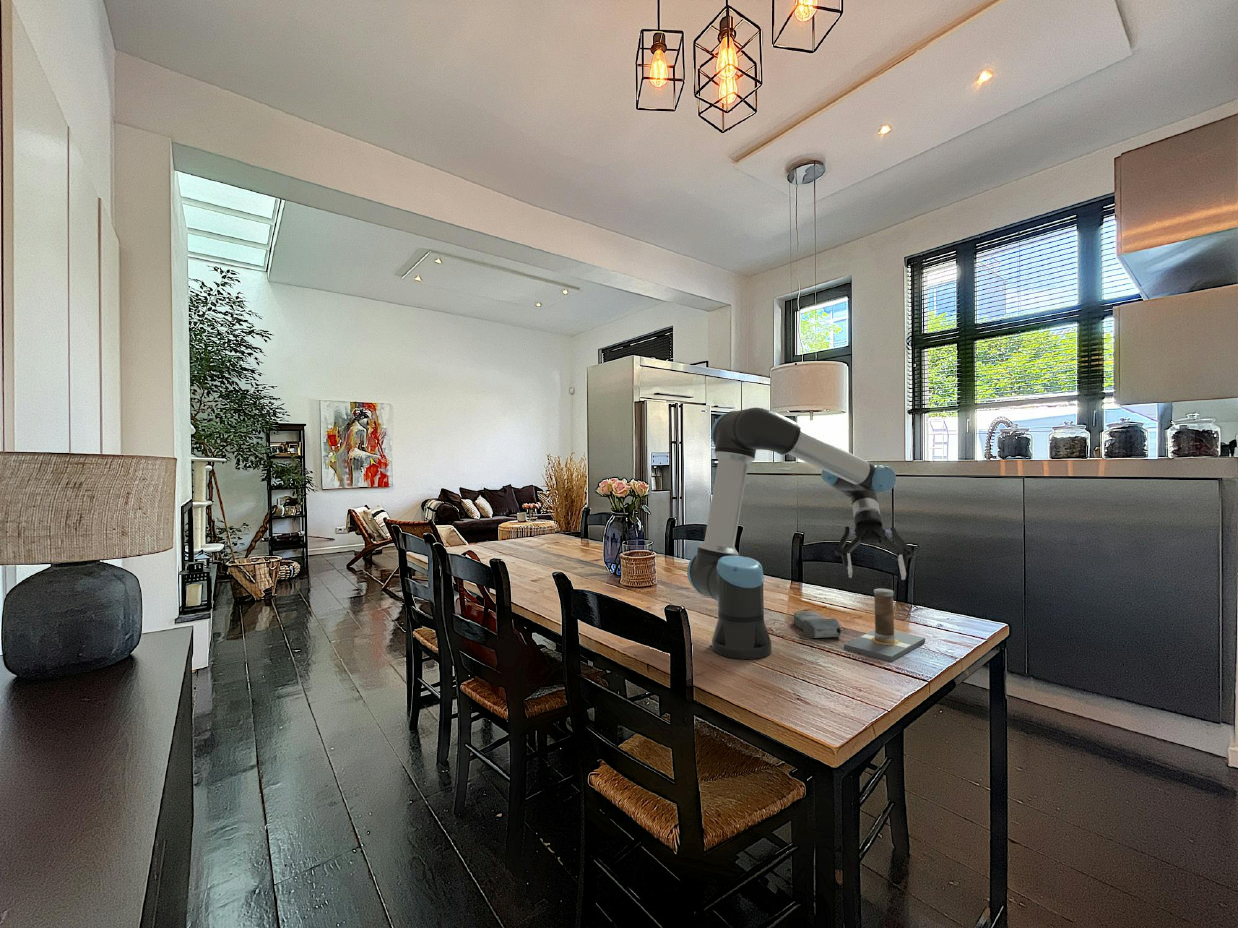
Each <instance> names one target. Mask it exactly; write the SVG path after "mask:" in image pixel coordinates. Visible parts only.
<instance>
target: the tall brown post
mask: <svg viewBox="0 0 1238 928" xmlns="http://www.w3.org/2000/svg"><path fill="white" fill-rule="evenodd" d="M894 596H895V595H894V590H892V589H888V588H875V589H873V597H874V599H873V600H874V630H875V632H874V633H875V640H876V641H877V642H881V643H894V642H895V633H894V631H895V623H894V622H895V618H894V617H895V616H894V615H895V614H894V612H895V611H894Z"/></svg>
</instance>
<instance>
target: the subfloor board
mask: <svg viewBox="0 0 1238 928" xmlns="http://www.w3.org/2000/svg"><path fill="white" fill-rule="evenodd" d="M874 632H875V629H873V630H872V631H870V632H868V633H865V634H863V635H861V636H859V637H856V638H854V639H852V640H850V641H848V642H846V643H843V650H847V651H851V652H854V653H857V654H862V655H865V656H868V657H869V656H870V657H874V658H877V659H881V660H885V661H888V662H893V661H895V660H896V659H898V658H901V657H902V656H905V655H906V654H908V653H909V652H912V651H913V650H915V649H916V648H919V645H920V646H922V645H924V644H925V643H926V638H925V637H923V636H917V635H913V634H908V633H903V632H900V631H896V630H894V633H895V642H894V643H881V642H877V641H876V640H875V633H874ZM924 642H925V643H924ZM923 643H924V644H923ZM921 644H922V645H921Z"/></svg>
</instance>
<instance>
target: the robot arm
mask: <svg viewBox="0 0 1238 928" xmlns="http://www.w3.org/2000/svg"><path fill="white" fill-rule="evenodd" d="M710 435H711V441H712V442H713V445H714V447H715V448H714V456H715V457H716V458H717V465H716V472H715V477H714V478H715V479H714V484H713V490H712V496H711V501H710V507H709V513H708V519H707V525H706V531H705V535H704V536H705V537H704V540H703V542H702V543H699V545H698V546H697V550H696V551H697V552H696V554H695V555H694V556H693V557H691V559H690V560H689V562H688V565H687V568H686V569H687V571H686V574H687V580H688V582H689V584H690V585H691V587H692V588H693V589H695V591H697V592H698V593H699V594H701V595H702V596H705V597H709V598H710V599H713V600H715V601H717V611H718V613H717V614H718V617H717V621H716V625H715V628H714V632H713V634H712V638H711V643H712V644H711V649H712V650H713V652H714V653H716V654H718V655H719V656H722V655H723V657H727V658H731V659H737V660H738V659H739V660H754V659H755V660H756V659H762V658H766V657H767V656H769V655H771V653H772V651H773V650H772V648H773V647H772V646H773V645H772V639H771V637H770V634H769V631H768V628H767V626H766V623H765V614H764V613H765V612H764V611H765V610H764V609H765V605H764V603H765V602H764V597H765V596H764V581H765V580H764V579H765V577H764V571H763V566H762V564H761V563H760V561H758V560H756V559H754V558H751V557H749V556H742V555H739V552H738V551H737V549H736V546H735V545H736V539H737V533H738V526H739V521H740V515H741V510H742V509H741V508H742V504H743V496H744V491H745V485H746V481H747V479H746V478H747V474H748V468H749V465H750V464H751V463H753V462H754V461H755V459H756V453H757V451H758V450H759V451H760V450H761V451H762V450H763V451H770V452H774V453H776V454H779V455H780V456H786V455H789V456H792V457H794V458H796V459H799V460H801V461H803V462H806V463H807V464H809V465H811V466H813V467H816V468H818V469H820V470H821V472H820V477H821V480H823V481H824V482H825V483H826V484H827V485H829V486H830V487H832V488H833V489H834V490H837V491H838V492H840V493H841V494H842V495H844V496H846V497H847V498H848V499H850V501H851V505H852V506H851V507H852V513H853V519H854V520H853V522H854V528H851V527H849V526H845V527H844V534H843V535H842V536H841V539H840V541H839V543H838V544H837V546H836V548H835V552H834V553H835V556H836V557H839V556H840V557H841V559H842V565H843V566H844V567H847V574H848V578H850V579H852V577H853V566H852V559H851V553H852V552H853V551H854V550H855V549H856V548H857V547H858V546H860V545H861V544H862V543H864V544H877V543H878V544H879V545H881V546H884V547H885V548H886V549H887V550H889V551H890V552H891V553H893V554H894V555H895V556H897V557H898V558H897V561H898V568H899V573H900V576H901V577H900V578H901V580H903V581H904V580H906V577H907V571H906V569H908V566H909V561H908V559H911V558H912V557H913V553H914V551H913V549H912V548H911V547H910V546H909V545H908V544H907V542H905V541H904V539H903V538H902V537H901V536H900V535H899V534H898V533H897V529H896V527H894V526H892V527H890V528H889V529H888V528H887V529H885V528H884V525H883V522H882V521H883V520H882V516H881V511H880V505H879V500H878V495H877V493H887V492H890V491H891V490H892V489H893V488H894V487H895V485H896V481H897V477H896V473H895V471H894V469H893V468H892V467H890V466H888V465H882V464H881V465H880V464H879V465H875V464H873V463H872V462H870V461H867V460H865V459H863V458H860V457H859V456H856V455H855V454H853V453H851V452H849V451H847V450H844V449H842V448H840V447H838V446H837V445H834V444H833V443H830V442H829V441H826V440H824V439H822V438H820V437H818V436H816V435H814V434H812V433H810V432H808V431H806V430H804V429H802V428H801V425H800V424H799V423H798V422H796V421H794V420H792V419H791V418H788V417H786V416H784V415H782V414H780V413H777V412H774V411H772V410H770V409H766V408H763V407H750V408H745V409H740V410H731V411H728V412H726V413H724V414H722V415H720V416H718V418H717V419H715V421H714V423H713V425H712V427H711V432H710ZM853 534H854V535H855V536H856V537H855V538H854V539H853V540H852V541H851V542H850V543H848V545H847V546H846V544H847V542H848V540H849V537H851V536H853ZM886 535H887V536H888V537H887V536H886ZM889 538H891V539H889ZM891 540H892V541H891Z"/></svg>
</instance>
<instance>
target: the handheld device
mask: <svg viewBox="0 0 1238 928" xmlns="http://www.w3.org/2000/svg"><path fill="white" fill-rule="evenodd" d="M793 623H794V625H795V626H796V627H798V628H799V629H801V630H803V635H804V636H805V637H807V638H810V639H820V638H821V639H823V638H839V637H841V635H842V629H841V628H842V627H841V625H840V622H839V621H838V619H836V618H826V617H824V616H823V615H820V614H819V613H816V612H813V611H812V610H811V611H810V610H798V611H795V612H794V613H793Z"/></svg>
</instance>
